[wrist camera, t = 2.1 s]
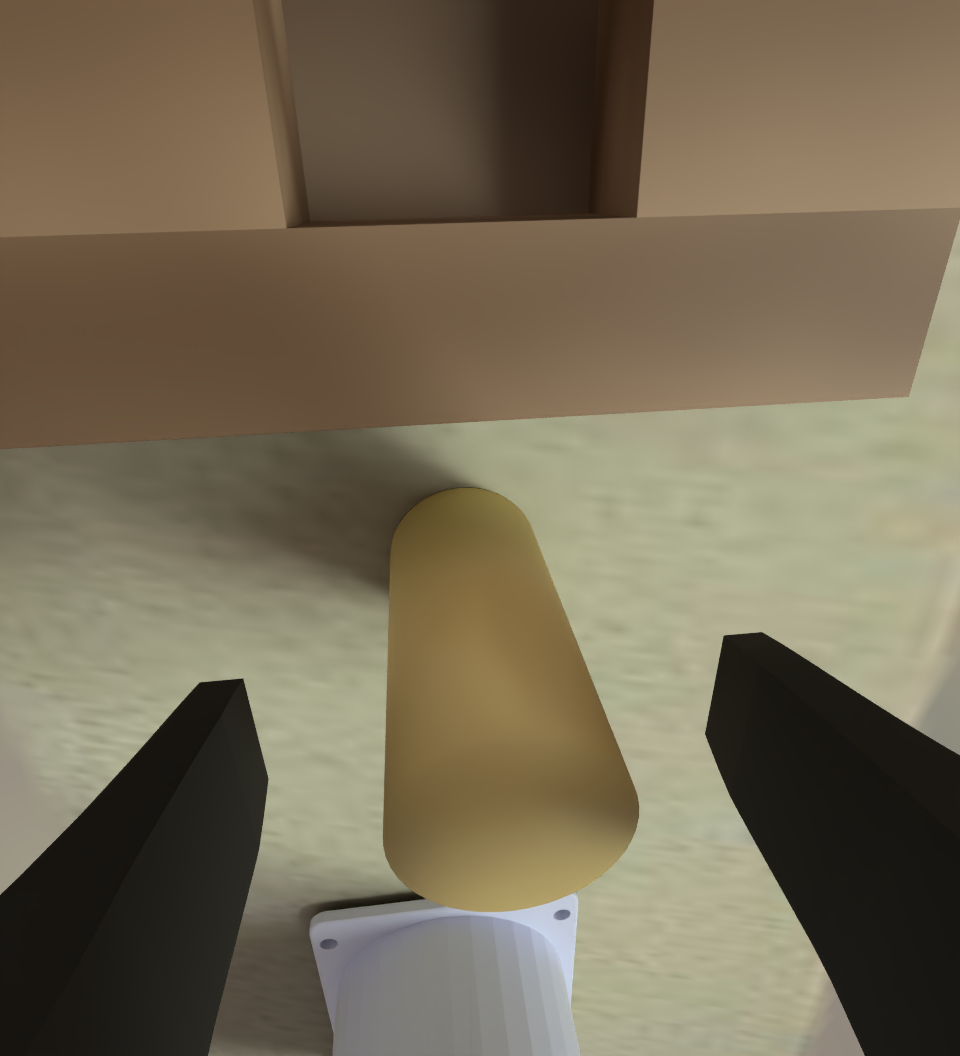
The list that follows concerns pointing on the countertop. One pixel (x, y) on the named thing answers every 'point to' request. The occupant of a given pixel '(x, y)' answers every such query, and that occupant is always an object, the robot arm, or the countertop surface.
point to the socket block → (464, 209)
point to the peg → (492, 719)
